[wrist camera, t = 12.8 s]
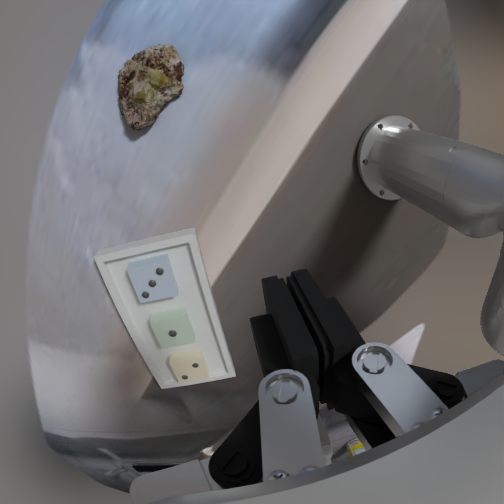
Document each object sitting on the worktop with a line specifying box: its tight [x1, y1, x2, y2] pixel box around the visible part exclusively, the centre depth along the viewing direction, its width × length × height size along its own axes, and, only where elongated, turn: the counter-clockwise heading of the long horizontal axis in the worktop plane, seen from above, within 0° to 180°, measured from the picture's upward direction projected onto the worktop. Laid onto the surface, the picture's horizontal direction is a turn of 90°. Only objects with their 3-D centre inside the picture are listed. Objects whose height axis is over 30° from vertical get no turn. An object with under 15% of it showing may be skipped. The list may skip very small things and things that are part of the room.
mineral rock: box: [119, 44, 184, 131], centre depth 28 cm, size 11×4×8 cm
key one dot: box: [149, 308, 195, 349], centre depth 42 cm, size 5×5×2 cm
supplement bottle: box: [346, 438, 366, 457], centre depth 77 cm, size 6×6×10 cm
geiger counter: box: [317, 414, 333, 466], centre depth 60 cm, size 14×6×25 cm
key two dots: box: [169, 349, 210, 383], centre depth 46 cm, size 5×5×2 cm
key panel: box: [94, 227, 236, 389], centre depth 43 cm, size 14×28×2 cm, turn 9°
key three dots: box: [127, 254, 178, 303], centre depth 38 cm, size 5×5×2 cm
